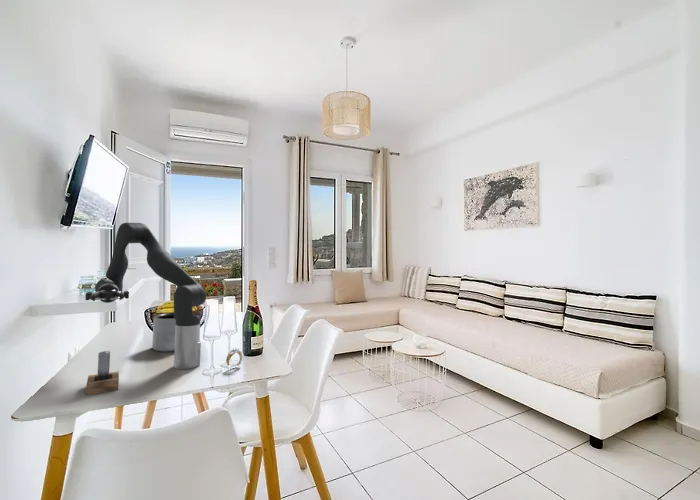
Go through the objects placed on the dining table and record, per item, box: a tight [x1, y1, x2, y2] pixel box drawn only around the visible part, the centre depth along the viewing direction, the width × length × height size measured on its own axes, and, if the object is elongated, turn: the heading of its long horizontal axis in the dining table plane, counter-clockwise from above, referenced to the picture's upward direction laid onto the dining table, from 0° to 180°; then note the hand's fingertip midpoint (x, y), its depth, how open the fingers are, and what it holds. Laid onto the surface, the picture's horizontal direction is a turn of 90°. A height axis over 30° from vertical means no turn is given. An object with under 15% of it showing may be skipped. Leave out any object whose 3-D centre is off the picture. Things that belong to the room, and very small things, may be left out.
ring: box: [225, 347, 244, 367], centre depth 138 cm, size 7×3×8 cm, turn 138°
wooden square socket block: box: [85, 371, 120, 396], centre depth 115 cm, size 9×9×4 cm
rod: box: [97, 350, 111, 381], centre depth 115 cm, size 3×3×12 cm
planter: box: [151, 312, 176, 353], centre depth 163 cm, size 16×16×16 cm
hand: (107, 297), depth 132 cm, fingers open, 8 cm apart
